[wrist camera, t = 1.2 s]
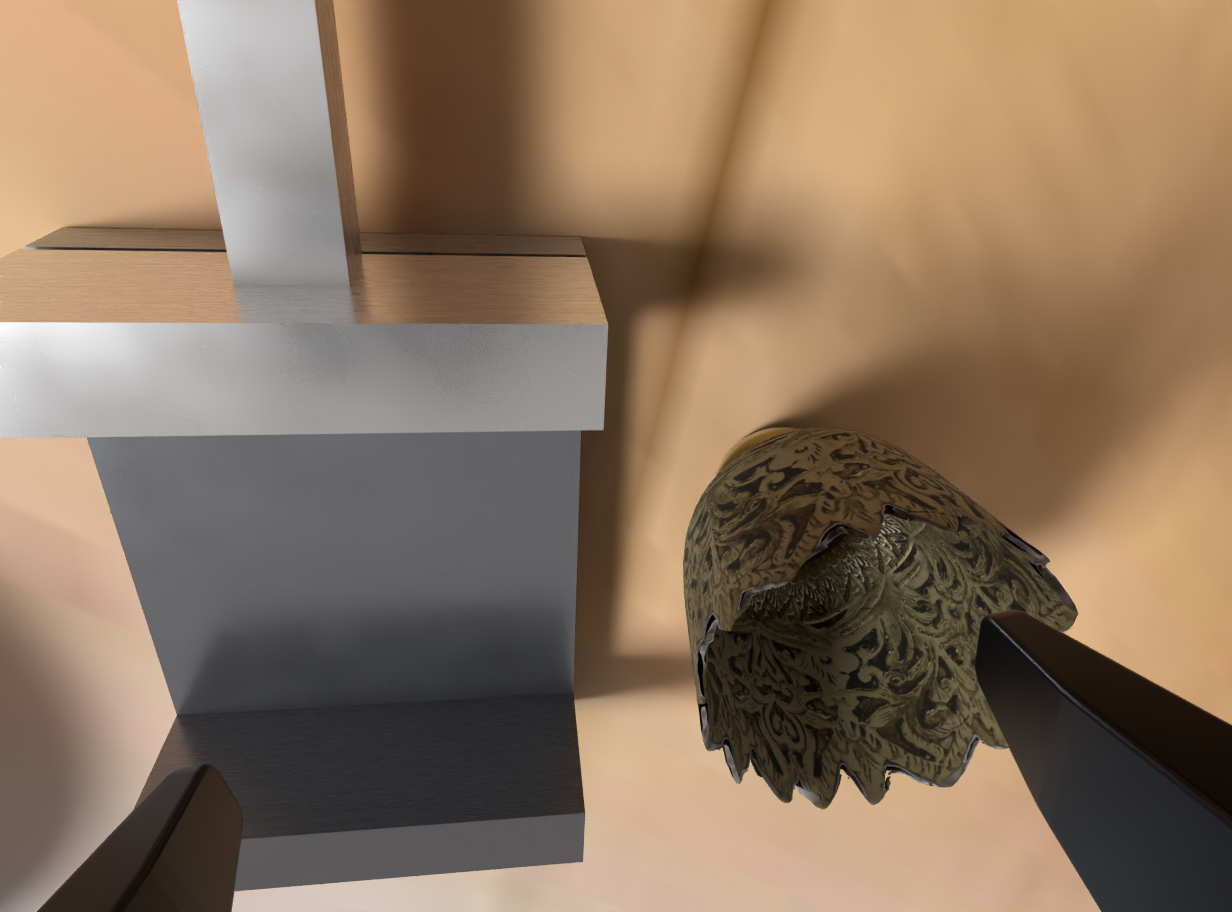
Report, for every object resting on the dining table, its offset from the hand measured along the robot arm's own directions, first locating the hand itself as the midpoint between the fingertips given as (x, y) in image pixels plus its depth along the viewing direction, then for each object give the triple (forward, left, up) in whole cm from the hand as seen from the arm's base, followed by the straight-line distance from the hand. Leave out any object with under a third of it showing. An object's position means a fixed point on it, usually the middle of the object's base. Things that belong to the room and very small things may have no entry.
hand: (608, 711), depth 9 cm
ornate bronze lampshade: (-6, +4, -12) cm, 14 cm away
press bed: (+5, +5, -12) cm, 14 cm away
